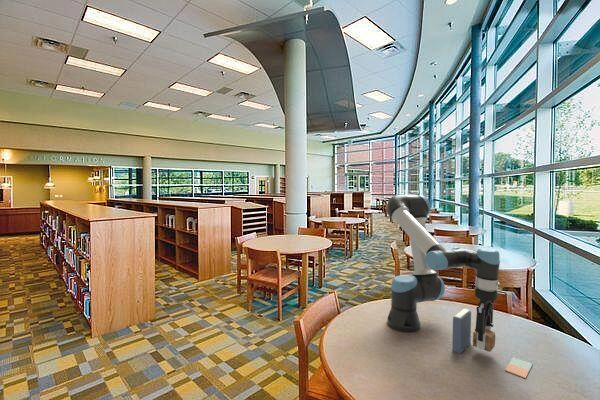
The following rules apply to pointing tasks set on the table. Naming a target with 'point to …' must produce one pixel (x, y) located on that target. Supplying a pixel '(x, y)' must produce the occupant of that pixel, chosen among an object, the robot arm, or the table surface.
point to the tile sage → (521, 363)
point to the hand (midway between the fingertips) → (483, 344)
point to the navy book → (461, 330)
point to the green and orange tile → (517, 370)
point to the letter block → (486, 340)
